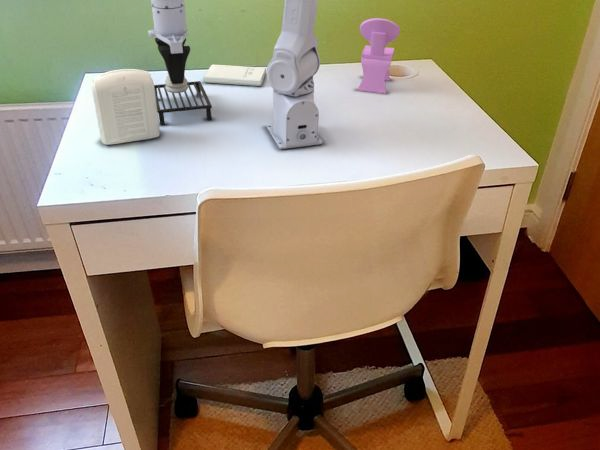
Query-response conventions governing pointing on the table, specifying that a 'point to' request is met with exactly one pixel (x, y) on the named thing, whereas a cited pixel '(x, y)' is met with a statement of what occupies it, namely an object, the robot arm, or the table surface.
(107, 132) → the photo printer
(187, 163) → the table surface
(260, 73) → the hard drive
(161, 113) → the rack
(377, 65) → the toy chair
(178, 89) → the rook chess piece
